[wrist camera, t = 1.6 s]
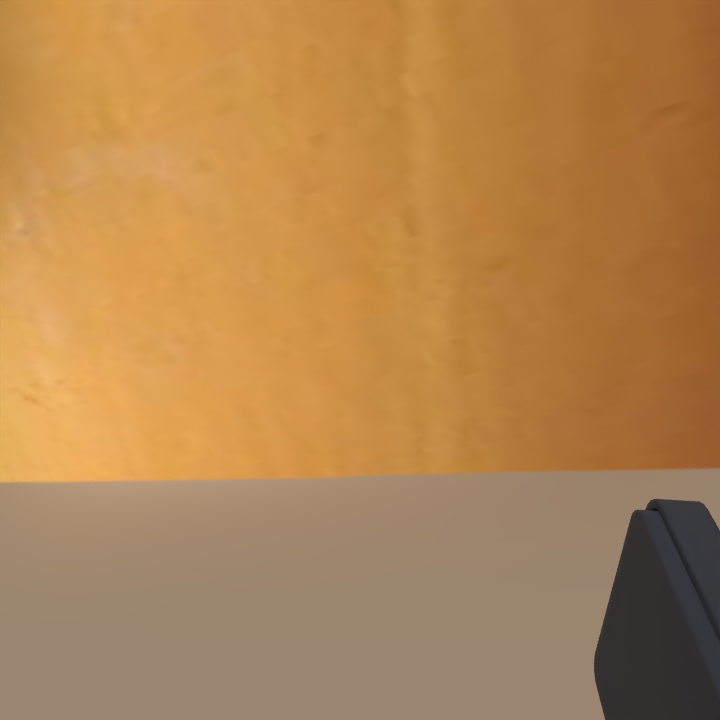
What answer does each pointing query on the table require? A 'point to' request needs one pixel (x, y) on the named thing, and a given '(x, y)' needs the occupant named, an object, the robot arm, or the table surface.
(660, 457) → the table surface
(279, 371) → the table surface
